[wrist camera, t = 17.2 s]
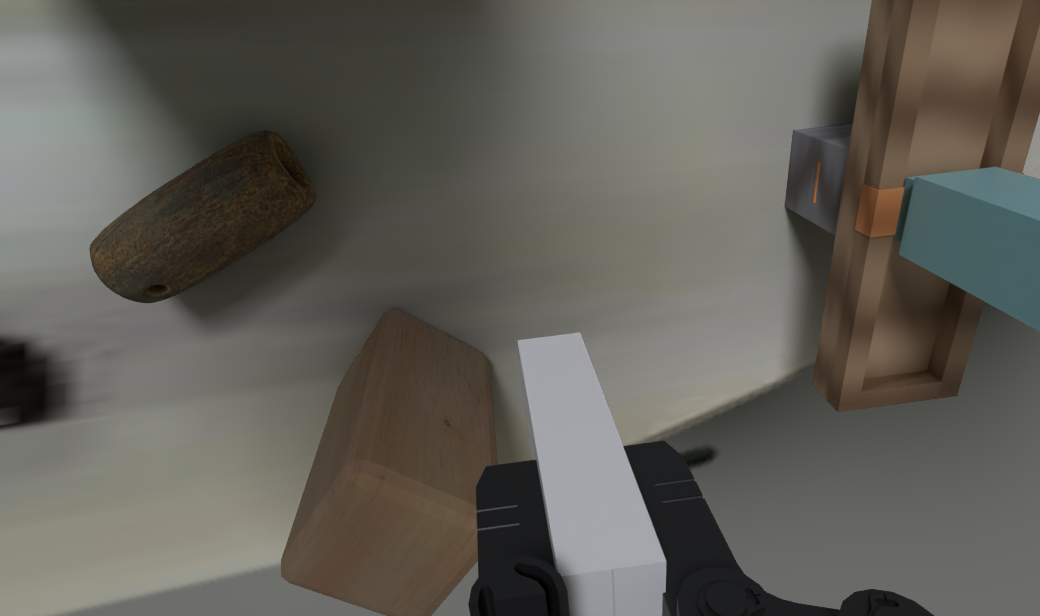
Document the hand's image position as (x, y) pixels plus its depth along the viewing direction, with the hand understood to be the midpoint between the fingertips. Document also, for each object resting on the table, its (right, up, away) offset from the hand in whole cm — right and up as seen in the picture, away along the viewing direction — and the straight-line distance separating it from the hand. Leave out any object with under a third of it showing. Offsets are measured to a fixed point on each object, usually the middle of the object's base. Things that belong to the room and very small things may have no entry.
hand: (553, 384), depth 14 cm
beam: (+24, +13, +32) cm, 42 cm away
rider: (+25, +9, +23) cm, 35 cm away
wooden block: (-10, -3, +37) cm, 39 cm away
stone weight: (-23, +10, +30) cm, 39 cm away
